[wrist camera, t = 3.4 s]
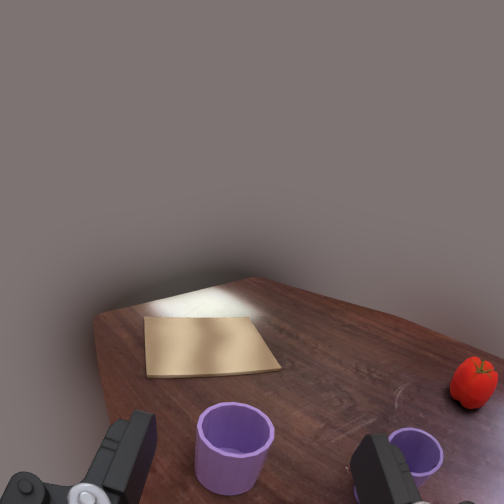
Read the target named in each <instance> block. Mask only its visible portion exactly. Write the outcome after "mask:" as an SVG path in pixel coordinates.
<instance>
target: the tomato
mask: <svg viewBox="0 0 504 504" xmlns="http://www.w3.org/2000/svg"><path fill="white" fill-rule="evenodd" d="M497 382H498V374H497V372H495V371H494V368H493V366H492V364H491V363H490V362H488V361H484V360H483V362H481V360H480V359H479V358H477V357H471V358H468V359H466V360H465V361H464V362H463V363H462V364H461V365H459V367H458V368H457V370H456V371H455V374H454V376H453V378H452V381H451V384H450V394H451V396H452V397H453V398H454V399H455V400H458V401H460V403H461V405H462V406H463V407H465V408H468V409H474V408H480V407H482V406H483V405H484V404H485V403H486V402H487V401H488V399H489V398H490V397H491V395H492V394H493V392H494V390H495V388H496V385H497Z"/></svg>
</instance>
